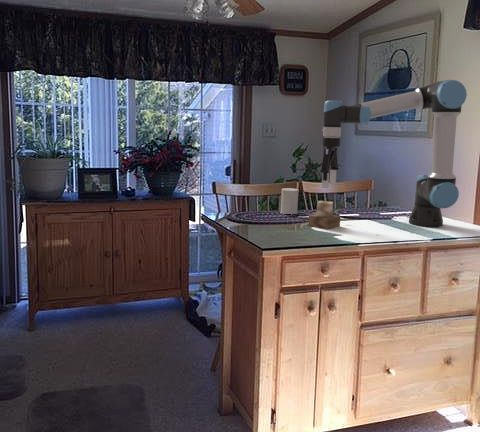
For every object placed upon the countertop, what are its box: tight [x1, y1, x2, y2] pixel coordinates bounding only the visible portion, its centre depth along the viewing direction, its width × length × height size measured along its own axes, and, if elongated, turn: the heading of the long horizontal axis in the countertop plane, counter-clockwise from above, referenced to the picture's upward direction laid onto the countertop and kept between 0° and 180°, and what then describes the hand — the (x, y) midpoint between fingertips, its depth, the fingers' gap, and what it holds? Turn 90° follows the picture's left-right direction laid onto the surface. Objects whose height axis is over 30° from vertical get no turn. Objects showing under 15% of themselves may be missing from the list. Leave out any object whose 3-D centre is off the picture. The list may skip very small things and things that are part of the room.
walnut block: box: [307, 213, 341, 231], centre depth 237 cm, size 10×10×5 cm
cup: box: [280, 187, 300, 216], centre depth 262 cm, size 8×8×12 cm
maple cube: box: [316, 200, 334, 217], centre depth 236 cm, size 6×6×6 cm
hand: (328, 186), depth 234 cm, fingers open, 13 cm apart
